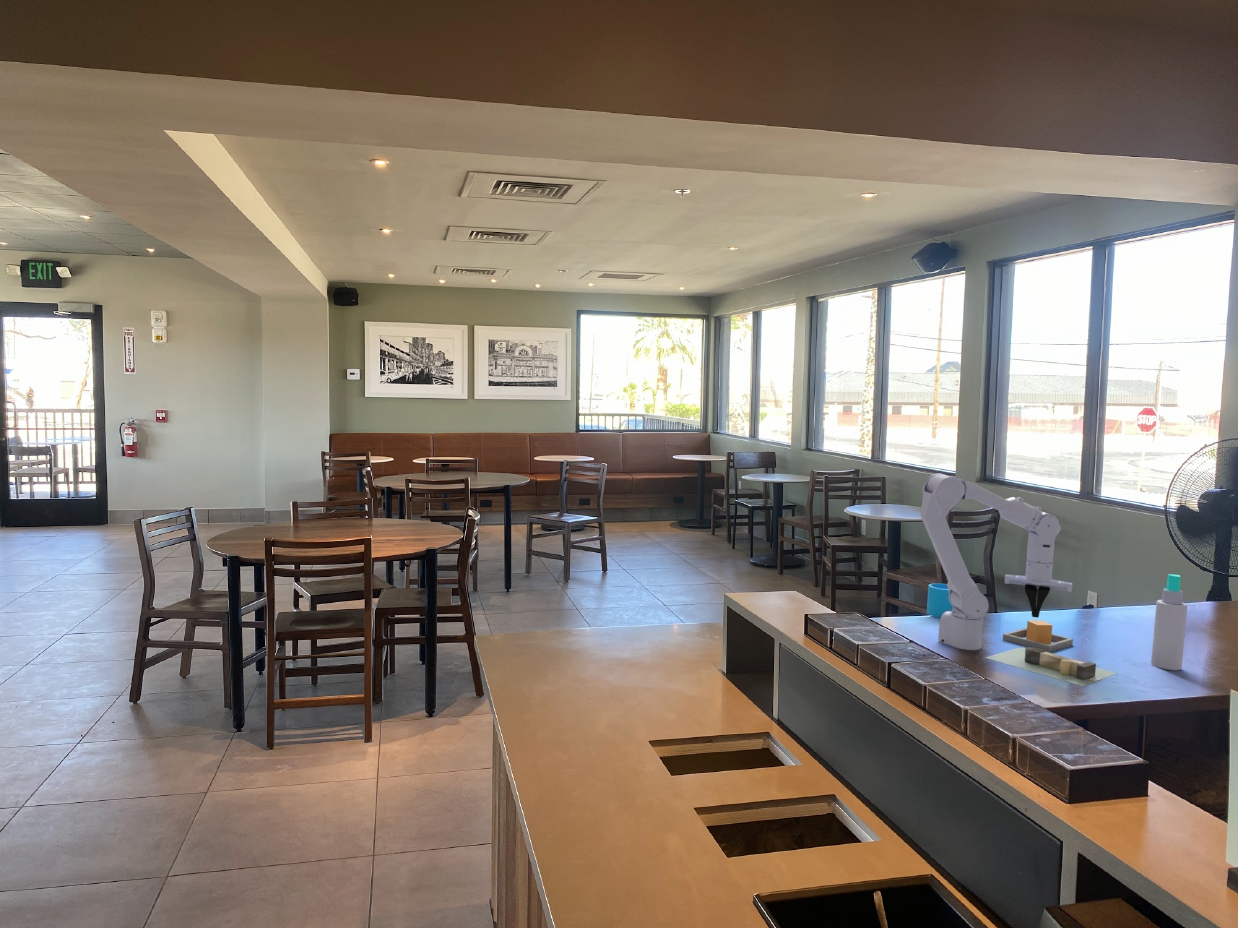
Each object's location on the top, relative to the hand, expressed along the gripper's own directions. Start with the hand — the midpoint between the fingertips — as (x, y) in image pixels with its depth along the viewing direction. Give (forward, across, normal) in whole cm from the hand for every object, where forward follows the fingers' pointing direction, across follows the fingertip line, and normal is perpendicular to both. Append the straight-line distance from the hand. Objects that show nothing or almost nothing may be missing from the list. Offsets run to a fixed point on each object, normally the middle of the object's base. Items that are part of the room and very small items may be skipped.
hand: (1035, 616), depth 200 cm
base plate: (+9, +4, -13) cm, 16 cm away
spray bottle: (+10, +28, +9) cm, 31 cm away
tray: (+9, 0, +6) cm, 11 cm away
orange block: (+9, +1, +6) cm, 11 cm away
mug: (+10, -24, +26) cm, 37 cm away
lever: (+8, +6, -15) cm, 18 cm away
